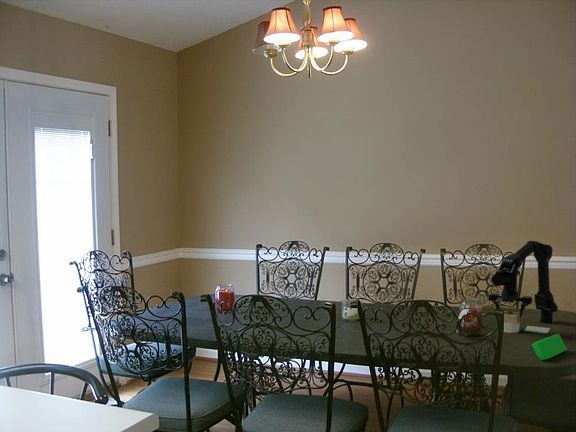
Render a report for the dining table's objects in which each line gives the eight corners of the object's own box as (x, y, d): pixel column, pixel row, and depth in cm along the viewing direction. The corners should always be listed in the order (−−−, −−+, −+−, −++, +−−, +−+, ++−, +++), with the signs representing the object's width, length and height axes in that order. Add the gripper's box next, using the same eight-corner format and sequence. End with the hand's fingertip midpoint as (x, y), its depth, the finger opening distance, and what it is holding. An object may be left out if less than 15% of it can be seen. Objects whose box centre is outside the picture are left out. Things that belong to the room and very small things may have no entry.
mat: (527, 326, 279) (527, 325, 279) (550, 329, 274) (550, 328, 274) (524, 331, 270) (524, 330, 270) (547, 334, 265) (547, 333, 265)
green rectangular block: (546, 357, 244) (538, 341, 247) (567, 349, 238) (558, 333, 240) (524, 367, 231) (516, 350, 233) (545, 359, 224) (536, 342, 227)
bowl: (502, 328, 276) (502, 319, 276) (520, 330, 272) (520, 321, 272) (499, 332, 269) (499, 322, 269) (517, 334, 265) (517, 324, 265)
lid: (503, 319, 275) (503, 309, 275) (519, 321, 272) (519, 311, 271) (500, 322, 269) (500, 312, 269) (516, 324, 266) (516, 314, 265)
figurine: (474, 337, 261) (474, 311, 261) (457, 336, 263) (457, 310, 262) (472, 332, 268) (472, 307, 268) (455, 332, 270) (456, 307, 269)
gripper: (486, 285, 267) (486, 317, 268) (529, 288, 258) (528, 322, 259) (491, 281, 277) (490, 313, 278) (532, 284, 267) (532, 317, 268)
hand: (510, 316), depth 270 cm, fingers open, 9 cm apart
